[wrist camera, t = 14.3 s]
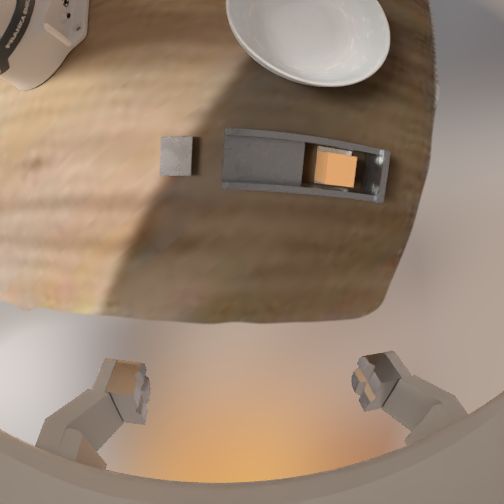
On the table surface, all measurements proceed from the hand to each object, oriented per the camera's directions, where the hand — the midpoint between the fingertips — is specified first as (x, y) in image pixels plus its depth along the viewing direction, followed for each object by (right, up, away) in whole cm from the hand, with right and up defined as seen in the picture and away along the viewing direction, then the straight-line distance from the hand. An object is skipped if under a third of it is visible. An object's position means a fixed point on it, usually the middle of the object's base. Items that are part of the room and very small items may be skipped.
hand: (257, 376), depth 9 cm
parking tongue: (-10, +17, +23) cm, 31 cm away
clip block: (+10, +16, +26) cm, 32 cm away
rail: (+6, +16, +26) cm, 31 cm away
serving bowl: (+7, +35, +18) cm, 40 cm away
